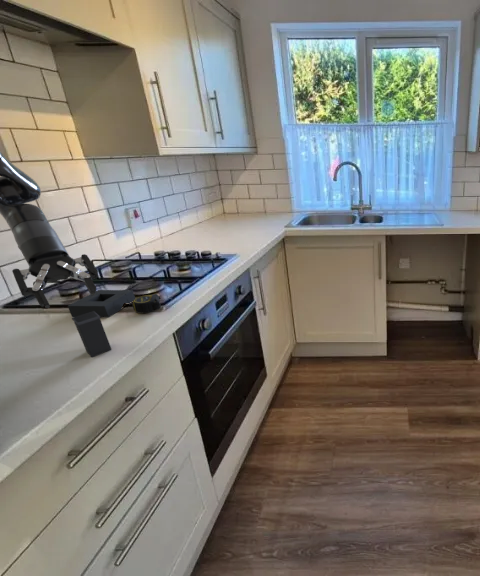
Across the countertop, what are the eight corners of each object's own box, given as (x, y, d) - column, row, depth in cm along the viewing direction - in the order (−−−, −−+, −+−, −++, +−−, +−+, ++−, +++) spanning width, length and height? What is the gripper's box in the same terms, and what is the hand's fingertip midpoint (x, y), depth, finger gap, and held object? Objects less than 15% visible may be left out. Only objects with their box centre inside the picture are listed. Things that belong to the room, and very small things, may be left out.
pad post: (91, 357, 83) (76, 323, 79) (85, 351, 85) (71, 317, 81) (112, 349, 86) (99, 316, 82) (106, 343, 88) (93, 311, 84)
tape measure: (162, 312, 103) (158, 300, 102) (134, 318, 100) (130, 305, 99) (162, 303, 109) (159, 291, 107) (135, 308, 106) (131, 297, 104)
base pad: (108, 317, 101) (104, 306, 99) (71, 316, 102) (67, 305, 100) (136, 300, 111) (132, 290, 110) (102, 300, 112) (98, 289, 110)
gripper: (-5, 242, 79) (28, 303, 76) (76, 228, 89) (107, 282, 87) (2, 260, 84) (33, 318, 82) (78, 246, 94) (107, 296, 92)
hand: (71, 299), depth 84 cm, fingers open, 8 cm apart
